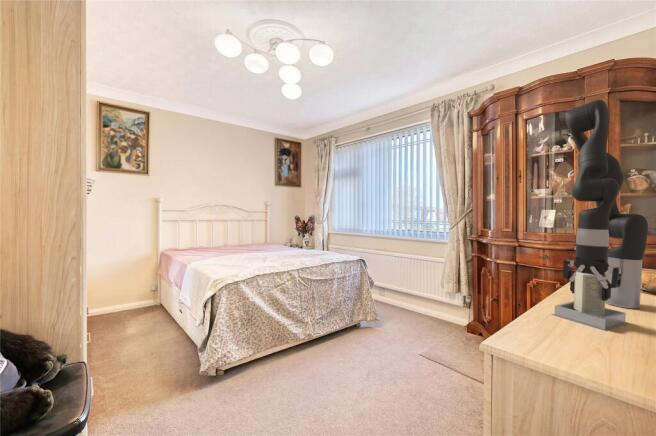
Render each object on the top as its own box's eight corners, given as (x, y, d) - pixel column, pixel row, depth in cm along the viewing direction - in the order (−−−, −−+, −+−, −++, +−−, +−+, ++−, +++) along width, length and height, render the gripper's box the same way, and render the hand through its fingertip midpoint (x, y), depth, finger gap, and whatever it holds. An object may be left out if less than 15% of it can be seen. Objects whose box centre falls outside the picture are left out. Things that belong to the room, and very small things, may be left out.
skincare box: (595, 310, 93) (597, 272, 93) (605, 315, 89) (607, 275, 88) (572, 308, 94) (574, 271, 94) (581, 313, 90) (583, 274, 90)
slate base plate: (573, 310, 101) (573, 308, 101) (629, 325, 88) (629, 323, 88) (550, 316, 95) (550, 314, 95) (606, 334, 82) (606, 331, 82)
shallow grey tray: (575, 309, 100) (575, 300, 100) (625, 322, 89) (625, 312, 89) (554, 314, 95) (554, 305, 94) (604, 329, 83) (605, 319, 83)
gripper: (558, 241, 96) (556, 292, 96) (617, 247, 83) (613, 305, 83) (571, 240, 99) (568, 289, 100) (629, 246, 86) (626, 302, 87)
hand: (589, 296), depth 91 cm, fingers closed on skincare box, 7 cm apart
